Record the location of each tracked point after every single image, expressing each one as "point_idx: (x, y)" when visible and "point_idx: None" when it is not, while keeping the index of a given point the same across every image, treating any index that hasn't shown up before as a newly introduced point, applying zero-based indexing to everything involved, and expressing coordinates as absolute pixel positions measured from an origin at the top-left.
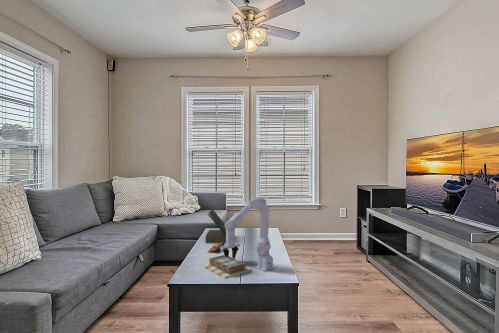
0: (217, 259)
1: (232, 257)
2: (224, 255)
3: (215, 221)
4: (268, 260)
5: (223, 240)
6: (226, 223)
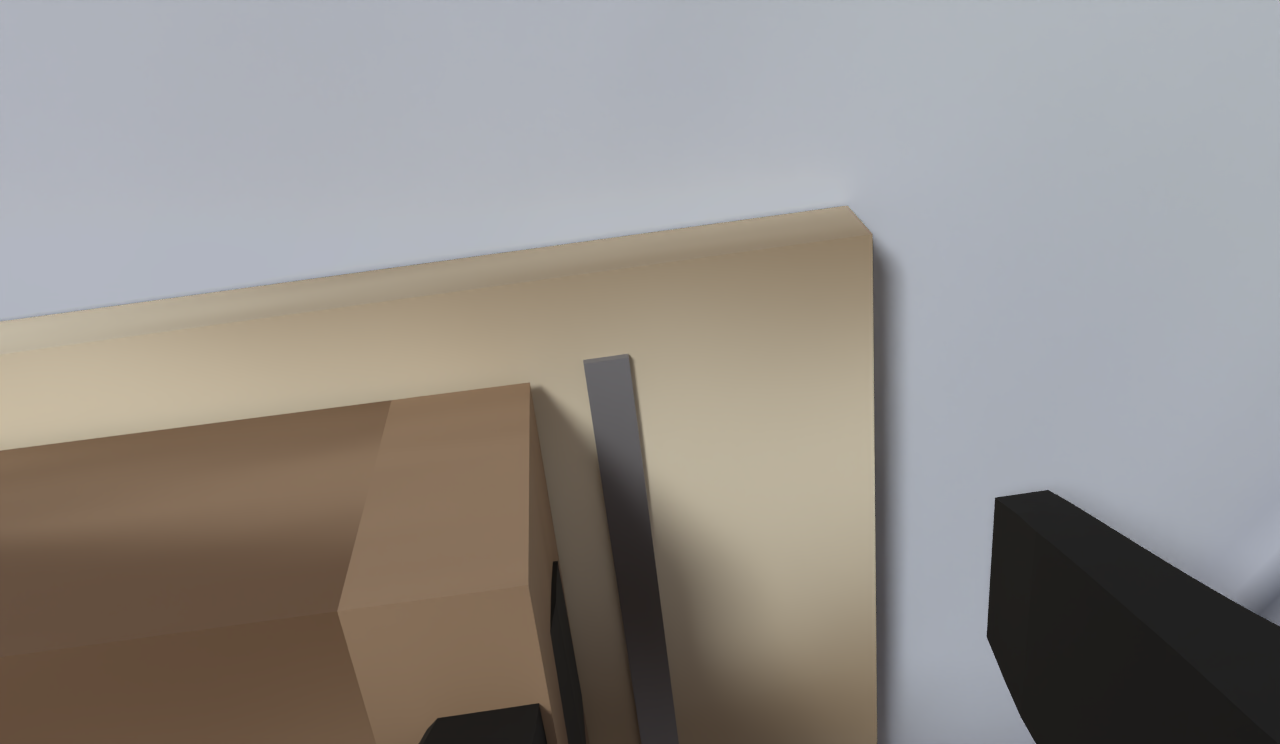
0: None
1: (1005, 511)
2: (419, 696)
3: None
4: None
5: None
6: None
